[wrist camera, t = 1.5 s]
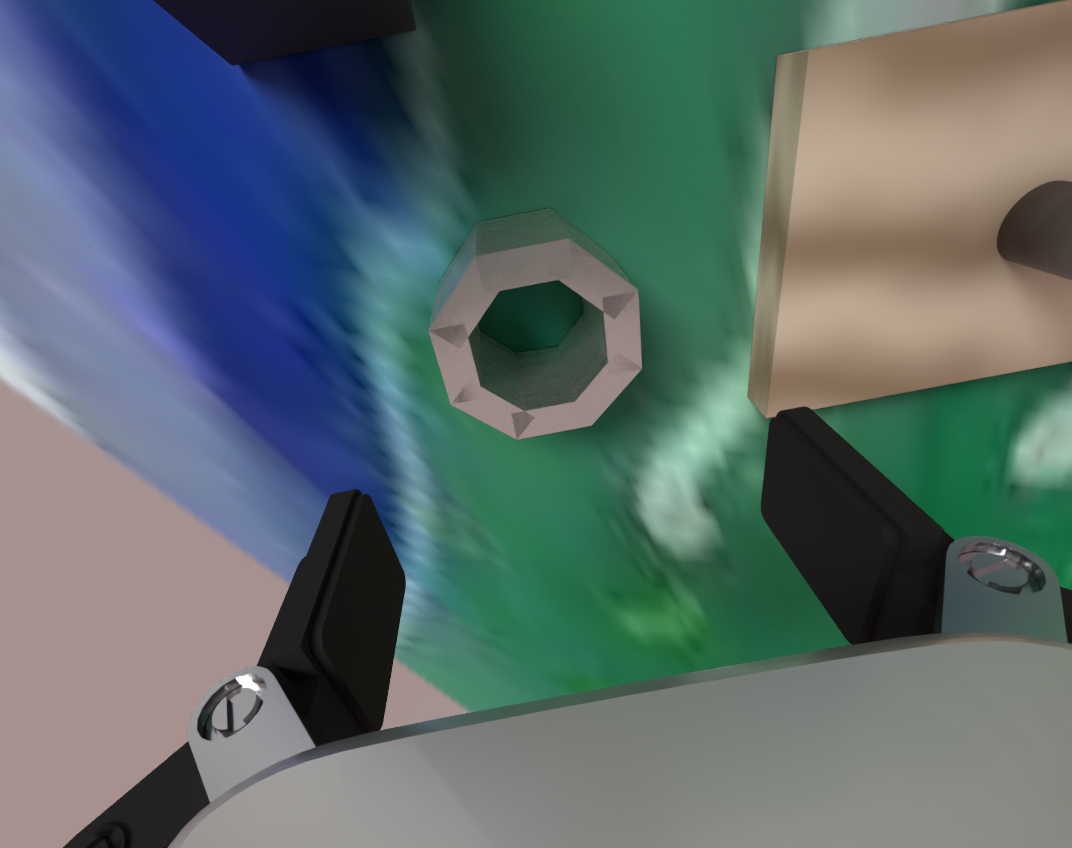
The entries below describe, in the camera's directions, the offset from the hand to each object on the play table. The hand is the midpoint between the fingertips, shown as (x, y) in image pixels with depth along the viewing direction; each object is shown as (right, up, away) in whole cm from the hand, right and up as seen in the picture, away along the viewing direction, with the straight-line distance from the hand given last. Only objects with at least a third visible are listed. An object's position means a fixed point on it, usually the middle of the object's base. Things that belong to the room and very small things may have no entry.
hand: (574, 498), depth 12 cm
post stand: (+18, +11, +9) cm, 23 cm away
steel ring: (-1, +7, +10) cm, 12 cm away
